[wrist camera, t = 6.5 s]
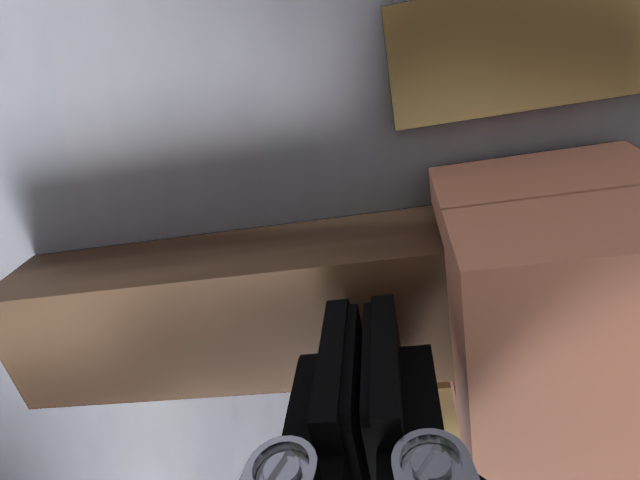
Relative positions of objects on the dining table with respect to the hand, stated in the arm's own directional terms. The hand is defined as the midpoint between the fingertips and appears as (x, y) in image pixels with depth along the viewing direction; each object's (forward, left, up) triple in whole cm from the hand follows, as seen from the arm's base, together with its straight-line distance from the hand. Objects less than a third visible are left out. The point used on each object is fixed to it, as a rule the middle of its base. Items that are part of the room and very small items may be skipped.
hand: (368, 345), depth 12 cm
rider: (0, -4, -4) cm, 6 cm away
